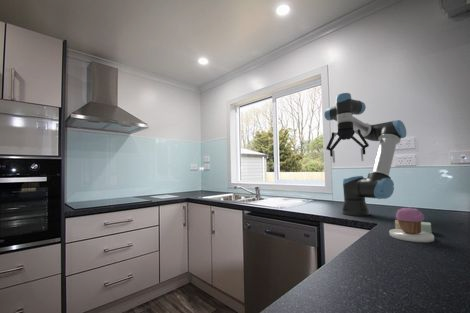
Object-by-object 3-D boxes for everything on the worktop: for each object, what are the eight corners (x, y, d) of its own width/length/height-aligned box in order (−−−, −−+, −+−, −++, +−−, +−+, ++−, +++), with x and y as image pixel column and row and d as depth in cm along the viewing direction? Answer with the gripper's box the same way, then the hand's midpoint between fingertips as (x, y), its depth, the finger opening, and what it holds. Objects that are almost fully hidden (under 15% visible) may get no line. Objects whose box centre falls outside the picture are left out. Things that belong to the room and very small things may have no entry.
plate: (388, 231, 98) (388, 227, 98) (430, 234, 91) (429, 230, 91) (390, 239, 86) (390, 235, 86) (438, 244, 79) (438, 239, 79)
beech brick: (395, 229, 102) (394, 220, 102) (406, 229, 100) (405, 220, 100) (396, 232, 97) (396, 222, 97) (408, 233, 95) (407, 223, 95)
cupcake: (430, 234, 86) (428, 208, 87) (414, 237, 83) (412, 209, 84) (407, 229, 94) (404, 205, 95) (391, 231, 92) (389, 206, 92)
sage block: (419, 230, 98) (418, 221, 98) (431, 232, 95) (430, 222, 95) (419, 233, 93) (418, 224, 93) (431, 235, 90) (430, 225, 91)
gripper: (319, 124, 124) (321, 162, 122) (372, 117, 111) (375, 160, 109) (321, 126, 130) (324, 163, 128) (372, 120, 117) (375, 160, 115)
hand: (347, 161), depth 119 cm, fingers open, 13 cm apart
